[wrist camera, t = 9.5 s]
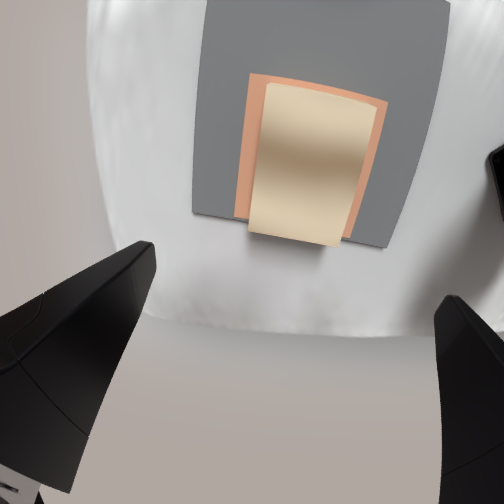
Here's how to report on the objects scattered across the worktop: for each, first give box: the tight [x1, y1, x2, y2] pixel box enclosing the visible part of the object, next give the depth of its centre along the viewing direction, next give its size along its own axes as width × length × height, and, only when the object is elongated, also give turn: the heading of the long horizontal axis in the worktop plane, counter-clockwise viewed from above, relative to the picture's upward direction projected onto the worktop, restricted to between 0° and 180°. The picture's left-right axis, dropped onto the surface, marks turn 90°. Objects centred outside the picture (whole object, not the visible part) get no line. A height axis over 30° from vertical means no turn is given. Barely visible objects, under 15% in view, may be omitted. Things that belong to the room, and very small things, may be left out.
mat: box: [192, 0, 450, 248], centre depth 15 cm, size 14×18×1 cm
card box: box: [248, 83, 377, 247], centre depth 16 cm, size 8×6×2 cm, turn 173°
